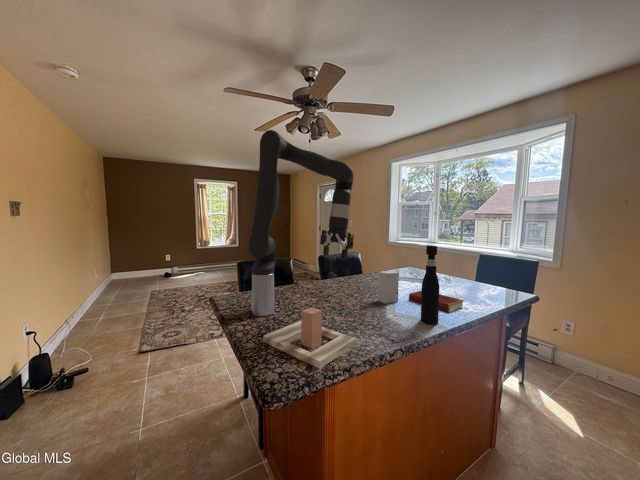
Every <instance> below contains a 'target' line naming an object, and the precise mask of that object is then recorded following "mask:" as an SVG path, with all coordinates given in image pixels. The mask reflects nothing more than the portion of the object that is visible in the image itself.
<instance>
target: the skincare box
mask: <svg viewBox="0 0 640 480" xmlns="http://www.w3.org/2000/svg"><path fill="white" fill-rule="evenodd" d="M399 281H400V272H397V271H393V270H386V271H385V270H384V271H378V285H377V286H378V289H377V290H378V291H377V292H378V293H377V301H379V302H380V303H383V304H385V305H386V304H393V303H398V302H399Z"/></svg>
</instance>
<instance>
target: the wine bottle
mask: <svg viewBox="0 0 640 480" xmlns="http://www.w3.org/2000/svg"><path fill="white" fill-rule="evenodd" d="M425 251H426V253H425V254H426V255H427V260H426V265H425V274H424V275H423V278H422V281H421V291H422V294H421V304H420V322H421V323H422V322H423V324H425V325H429V324H430V325H429V326H434V325H438V324H439V315H440V314H439V311H440V310H439V294H440V282H439V278H438V275H437V263H436V255H438V246H437V245H426V250H425Z"/></svg>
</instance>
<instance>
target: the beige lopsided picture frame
mask: <svg viewBox="0 0 640 480" xmlns="http://www.w3.org/2000/svg"><path fill="white" fill-rule="evenodd" d="M322 337H324V338H328V339H330V341H328V342H326V343H324V344H323V345H321V346H319V347H318V348H316V349H315V350H312V351H311V352H310V351H307V350H306V349H303V348H301V347H299V346H297V345H295V344H292V342H294V341H296V340H298V339H301V320H299V321H295V322H293V323H291V324H289V325H287V326H284V327H281V328H279V329H276V330H274V331H271V332H269V333H266V334H265V335H264V334H263V343H265V344H268V346H269V345H270V346H272V347H274V348H275V349H277V350H280V351H282V352H284V353H285V354H288V355H290V356H292V357H295V359H298V360H301V361H303V362H305V363H307V364H309V365H311V366H312V367H316V368H317V369H319V370H320V369H322V368H324V366H327V364H329V363H331V362H332V361H334V360H335V359H336V358H338V357H340V356H341V355H342V354H344V353H345V352H347V351H348V350H350V349H352V348H354V346H356V344H357V338H356V337H353V336H351V335H347V334H345V333H342V332H338V331H336V330H332V329H329V328H327V327H324V326H322Z"/></svg>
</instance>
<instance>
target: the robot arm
mask: <svg viewBox="0 0 640 480" xmlns="http://www.w3.org/2000/svg"><path fill="white" fill-rule="evenodd" d="M278 160H283V161H288V162H291V163H294V164H296V165H298V166H300V167H303V168H304V169H306V170H309V171H311V172H312V173H313V172H314V173H316V174H318V175H320V176H324V177H330V178H332V179H334V180H335V188H334V191H333V194H332V199H331V206H330V211H329V212H330V213H329V219H328V230H325V229H322V230H321V235H320V240H319V244H320V245H322V246H323V251H322V254H323V256H325V257H328V256H329V254H330V253H329V251H330V246H331V244H333V243H338V244H339V245H340V246H341V255H340V258H341V260H344V261H345V260H346V259H347V257H348V251H349V250H352V249H353V248H354V237H355V235H354V234H355V233H353V232H347V231H348V227H349V219H350V205H351V199H352V198H351V197H352V196H351V194H352V190H353V185H354V184H353V183H354V177H355V176H354V169H353V167H352V166H351V165H349V164H348V163H345V162H343V161H339V160H336V159H331V158H329V157H327V156H325V155H322V154H320V153H317V152H314V151H311V150H306V149H302V148H300V147H298V146H295V145H293V144H292V143H291V142H288V141H287V140H286V139H285V138H284V137H283V136H282V135H281V134H280V133H279V132H277V131H276V130H273V129H269V130H266V131H265V132H263V134H262V135H261V138H260V142H259V167H258V175H257V176H258V177H257V184H256V190H255V198H254V199H255V201H254V210H253V211H254V212H253V220H252V227H251V233H250V236H249V239H248V252H249V254H250V255H251V256H252V257H253V258H254V259H255V261H254V263H253V266H252V267H251V290H250V303H251V304H250V305H251V307H250V308H251V311H250V313H252V315H253V316H257V317H266V316H270V315H273V314H274V313H275V267H276V261H277V260H276V257H277V255H276V254H277V252H276V251H277V247H276V242H275V239H274V238H273V237H271V236H270V229H271V224H272V221H273V218H274V216H275V213H276V212H277V209H278V205H279V196H280V184H279V183H280V182H279V176H278Z"/></svg>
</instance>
